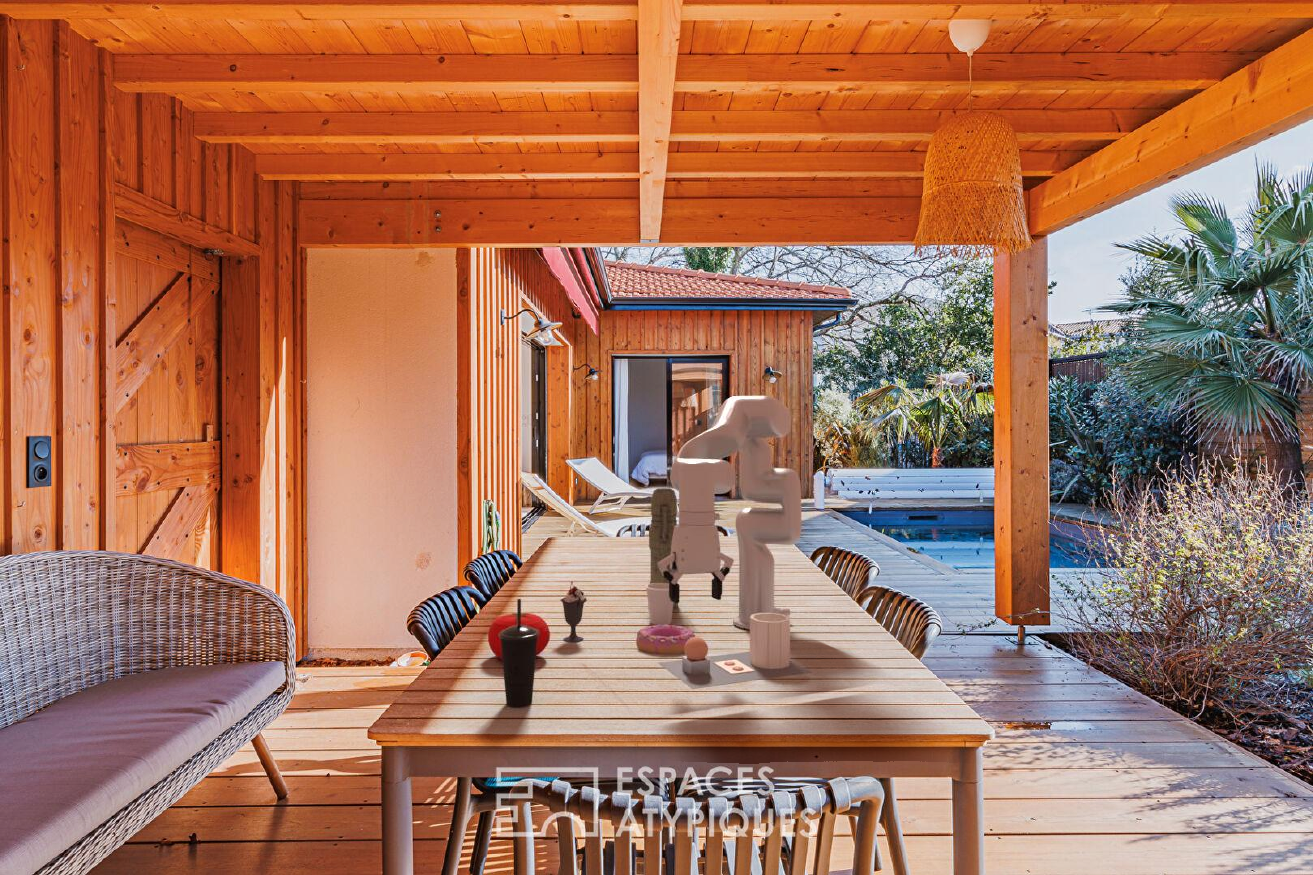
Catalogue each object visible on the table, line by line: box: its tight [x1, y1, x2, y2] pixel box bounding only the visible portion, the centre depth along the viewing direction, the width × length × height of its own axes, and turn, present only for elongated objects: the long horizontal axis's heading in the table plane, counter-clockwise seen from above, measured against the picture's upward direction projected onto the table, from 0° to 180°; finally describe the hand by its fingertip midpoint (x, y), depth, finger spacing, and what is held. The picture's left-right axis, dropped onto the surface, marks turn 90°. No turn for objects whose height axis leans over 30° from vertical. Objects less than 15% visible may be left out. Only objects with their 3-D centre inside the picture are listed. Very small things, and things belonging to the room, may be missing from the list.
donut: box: [635, 624, 696, 655], centre depth 182 cm, size 14×14×5 cm
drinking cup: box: [499, 598, 539, 709], centre depth 147 cm, size 8×8×20 cm
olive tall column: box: [648, 487, 679, 610], centre depth 227 cm, size 9×12×35 cm
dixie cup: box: [645, 583, 674, 625], centre depth 209 cm, size 8×8×10 cm
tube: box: [749, 613, 791, 669], centre depth 169 cm, size 9×9×10 cm
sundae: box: [559, 581, 587, 643], centre depth 191 cm, size 7×7×15 cm
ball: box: [684, 636, 709, 661], centre depth 162 cm, size 5×5×5 cm
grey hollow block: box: [681, 655, 710, 676], centre depth 162 cm, size 4×4×3 cm
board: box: [658, 651, 812, 690], centre depth 165 cm, size 28×18×2 cm, turn 112°
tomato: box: [487, 612, 551, 660], centre depth 176 cm, size 14×13×10 cm
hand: (695, 600), depth 162 cm, fingers open, 9 cm apart
